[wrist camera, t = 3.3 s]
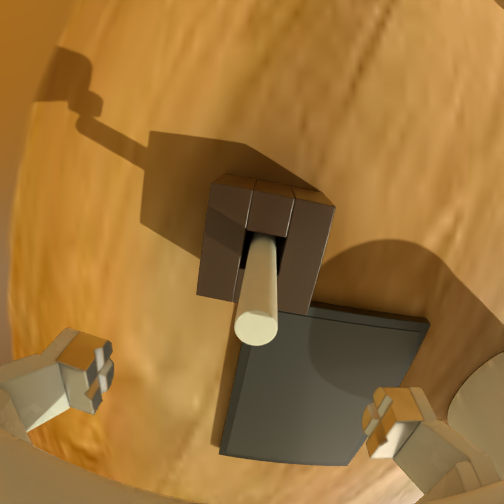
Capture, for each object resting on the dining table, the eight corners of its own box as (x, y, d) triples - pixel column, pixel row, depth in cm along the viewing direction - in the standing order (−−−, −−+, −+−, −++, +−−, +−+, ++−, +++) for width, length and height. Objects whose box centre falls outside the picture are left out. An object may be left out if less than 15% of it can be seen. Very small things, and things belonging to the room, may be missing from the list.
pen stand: (323, 192, 23) (336, 206, 18) (300, 282, 25) (306, 315, 20) (223, 173, 23) (211, 182, 18) (209, 265, 25) (195, 295, 20)
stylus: (277, 221, 24) (281, 314, 11) (272, 242, 24) (272, 349, 12) (255, 217, 24) (237, 306, 11) (251, 238, 24) (230, 341, 12)
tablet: (426, 318, 26) (431, 324, 25) (346, 460, 33) (347, 466, 32) (252, 290, 26) (251, 296, 25) (219, 448, 33) (218, 455, 32)
